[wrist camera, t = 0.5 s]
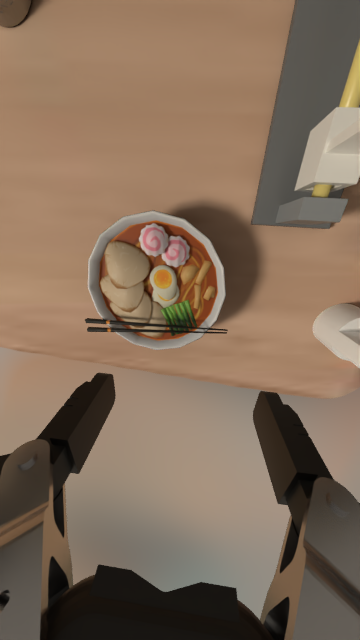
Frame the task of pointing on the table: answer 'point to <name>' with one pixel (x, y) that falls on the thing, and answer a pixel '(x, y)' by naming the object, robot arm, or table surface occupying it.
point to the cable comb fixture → (309, 110)
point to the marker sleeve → (332, 152)
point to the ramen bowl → (156, 281)
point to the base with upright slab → (340, 331)
